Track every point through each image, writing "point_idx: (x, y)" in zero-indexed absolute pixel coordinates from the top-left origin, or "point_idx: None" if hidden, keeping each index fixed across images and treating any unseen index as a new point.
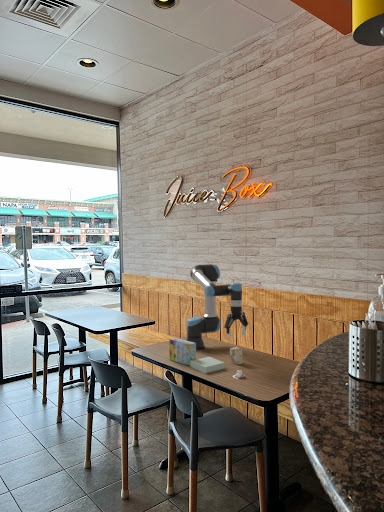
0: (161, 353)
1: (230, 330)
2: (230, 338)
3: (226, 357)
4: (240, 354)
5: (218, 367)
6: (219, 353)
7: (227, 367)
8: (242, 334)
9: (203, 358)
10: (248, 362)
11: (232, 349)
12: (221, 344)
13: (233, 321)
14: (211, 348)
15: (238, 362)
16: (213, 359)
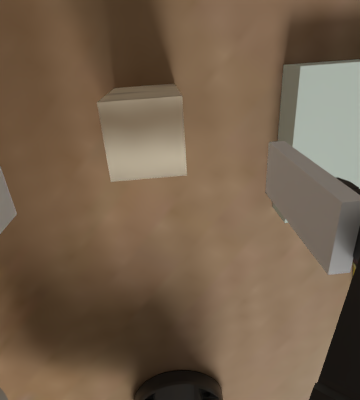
0: None
1: (329, 187)
2: (272, 142)
3: (136, 228)
4: (126, 94)
5: (342, 61)
6: (129, 294)
7: (253, 71)
8: (9, 207)
9: None
10: (65, 77)
11: (184, 142)
12: (37, 389)
13: (333, 362)
14: (118, 363)
15: (149, 86)
16: None
